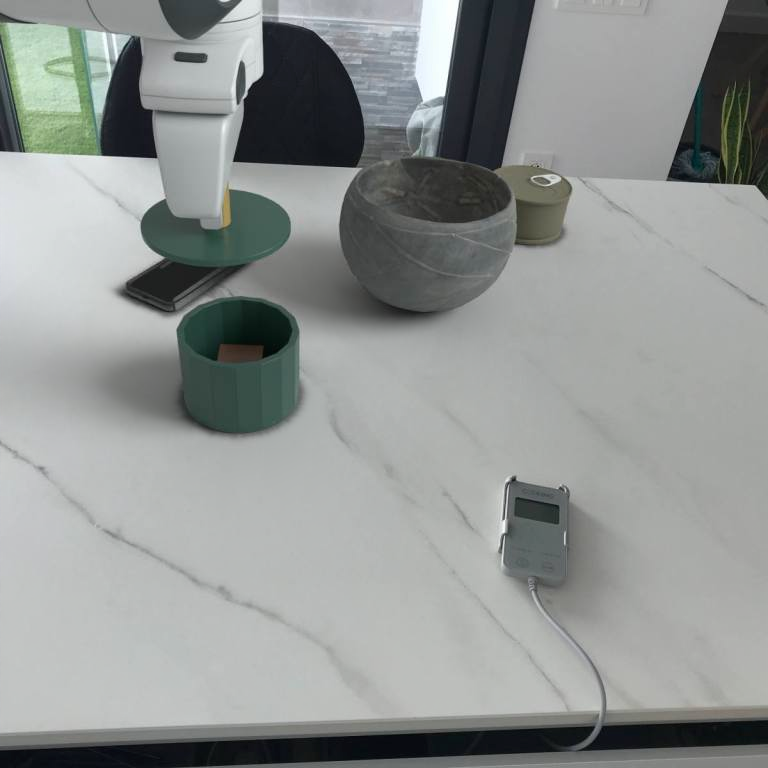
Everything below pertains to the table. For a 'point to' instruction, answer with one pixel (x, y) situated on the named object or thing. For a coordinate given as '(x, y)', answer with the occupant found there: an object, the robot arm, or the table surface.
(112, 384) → the table surface
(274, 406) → the tin
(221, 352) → the block
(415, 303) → the bowl
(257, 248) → the tin lid
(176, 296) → the phone
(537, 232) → the can
